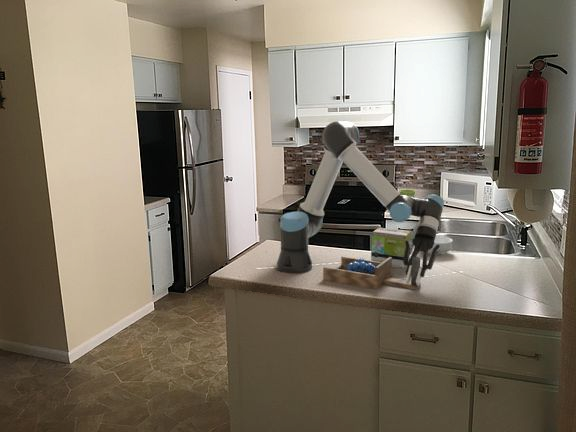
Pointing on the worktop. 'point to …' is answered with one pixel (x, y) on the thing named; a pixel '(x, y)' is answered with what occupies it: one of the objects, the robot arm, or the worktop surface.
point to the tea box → (389, 245)
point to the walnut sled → (371, 281)
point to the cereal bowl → (442, 244)
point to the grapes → (361, 267)
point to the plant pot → (407, 192)
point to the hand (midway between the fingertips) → (412, 282)
